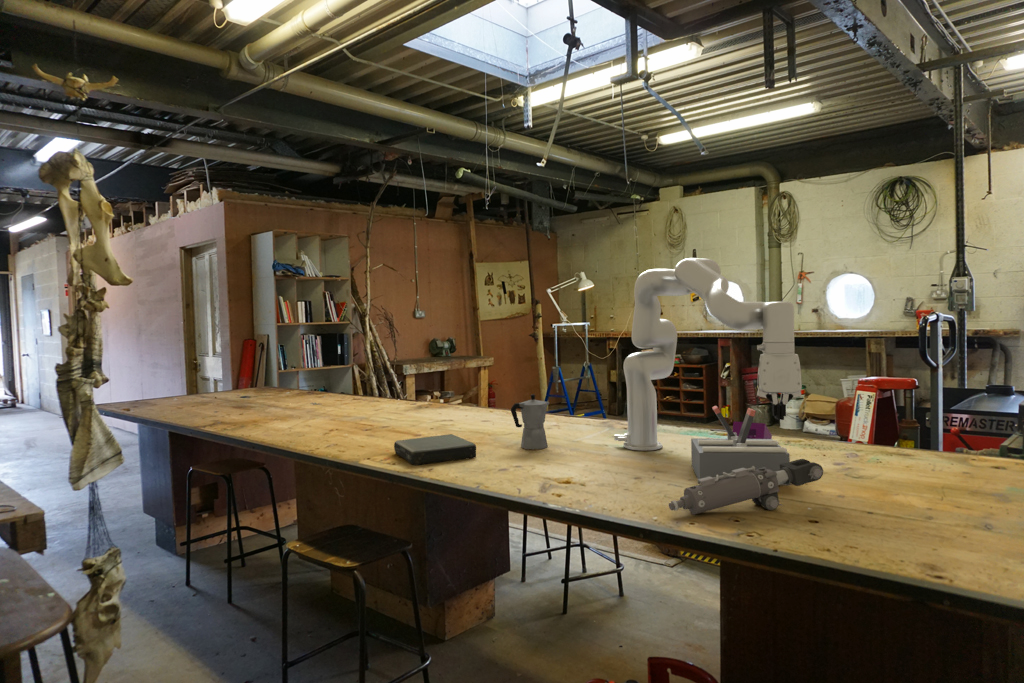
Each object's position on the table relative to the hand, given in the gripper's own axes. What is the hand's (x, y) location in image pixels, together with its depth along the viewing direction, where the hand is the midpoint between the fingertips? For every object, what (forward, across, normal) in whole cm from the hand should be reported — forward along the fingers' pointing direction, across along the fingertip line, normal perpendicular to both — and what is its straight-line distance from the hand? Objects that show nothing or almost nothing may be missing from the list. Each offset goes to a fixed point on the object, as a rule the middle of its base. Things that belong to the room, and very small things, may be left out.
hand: (779, 418), depth 164 cm
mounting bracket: (+16, +1, +39) cm, 42 cm away
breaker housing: (+16, -10, +4) cm, 19 cm away
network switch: (+17, -101, +22) cm, 105 cm away
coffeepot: (+16, -71, +36) cm, 81 cm away
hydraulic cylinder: (+16, -14, -26) cm, 33 cm away
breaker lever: (+7, -10, 0) cm, 12 cm away
